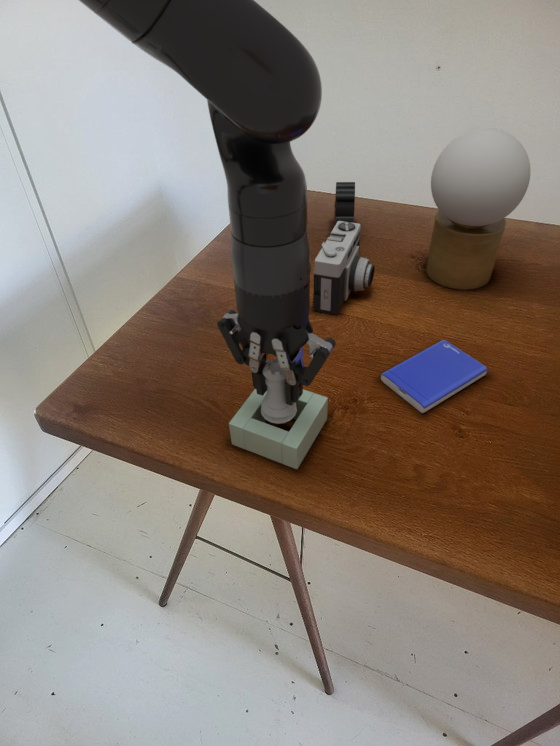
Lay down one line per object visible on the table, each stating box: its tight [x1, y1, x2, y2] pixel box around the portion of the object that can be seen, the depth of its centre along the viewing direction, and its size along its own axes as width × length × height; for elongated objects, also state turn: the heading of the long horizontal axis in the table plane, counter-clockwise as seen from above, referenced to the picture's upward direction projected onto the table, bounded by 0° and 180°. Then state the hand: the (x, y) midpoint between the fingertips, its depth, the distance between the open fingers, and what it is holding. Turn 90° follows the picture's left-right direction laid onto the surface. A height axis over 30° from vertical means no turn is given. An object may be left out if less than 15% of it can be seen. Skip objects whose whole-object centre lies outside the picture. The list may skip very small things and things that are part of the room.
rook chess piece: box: [261, 357, 297, 425], centre depth 62 cm, size 4×4×8 cm
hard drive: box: [380, 339, 488, 414], centre depth 73 cm, size 2×8×12 cm
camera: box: [312, 221, 375, 315], centre depth 86 cm, size 14×8×10 cm, turn 160°
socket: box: [228, 388, 329, 470], centre depth 66 cm, size 9×9×4 cm
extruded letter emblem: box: [333, 181, 356, 228], centre depth 100 cm, size 18×4×11 cm, turn 176°
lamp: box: [425, 127, 531, 291], centre depth 83 cm, size 15×14×25 cm
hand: (278, 395), depth 62 cm, fingers closed on rook chess piece, 3 cm apart
